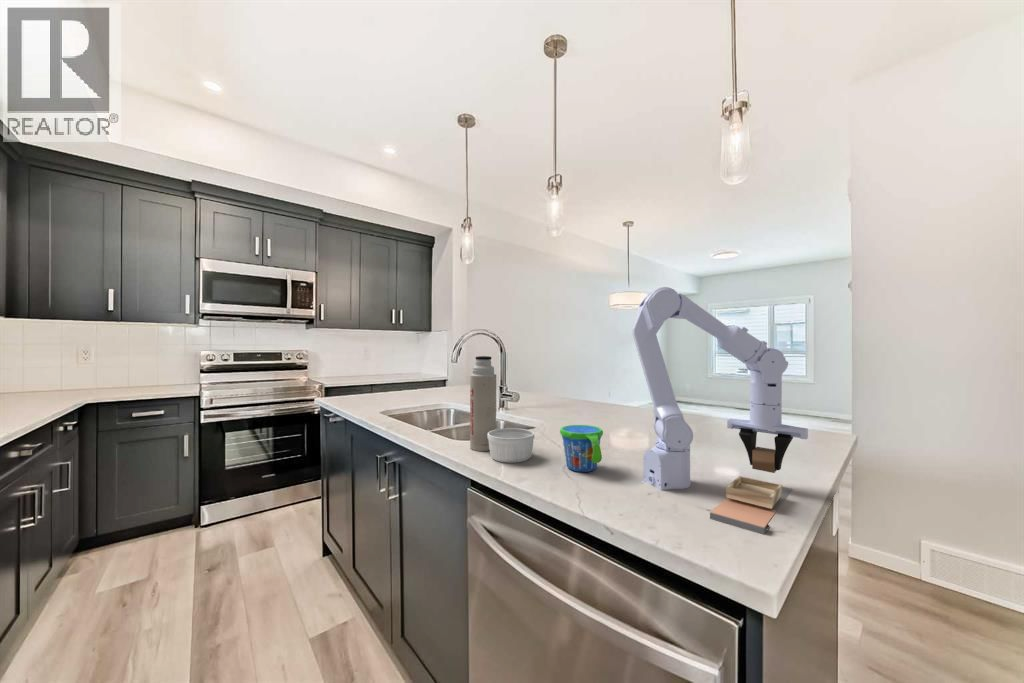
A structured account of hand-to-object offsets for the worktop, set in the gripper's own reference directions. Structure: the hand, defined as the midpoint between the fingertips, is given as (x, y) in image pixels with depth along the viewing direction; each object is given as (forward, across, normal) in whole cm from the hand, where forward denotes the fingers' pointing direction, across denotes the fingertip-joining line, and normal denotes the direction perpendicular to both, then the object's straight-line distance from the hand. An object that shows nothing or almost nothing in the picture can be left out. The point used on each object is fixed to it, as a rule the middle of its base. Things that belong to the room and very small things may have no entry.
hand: (765, 466), depth 84 cm
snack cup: (+6, +37, +14) cm, 41 cm away
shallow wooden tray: (+4, 0, +9) cm, 10 cm away
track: (+6, 0, +9) cm, 11 cm away
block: (0, 0, 0) cm, 0 cm away
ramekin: (+6, +57, +20) cm, 61 cm away
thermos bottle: (+6, +70, +19) cm, 73 cm away
